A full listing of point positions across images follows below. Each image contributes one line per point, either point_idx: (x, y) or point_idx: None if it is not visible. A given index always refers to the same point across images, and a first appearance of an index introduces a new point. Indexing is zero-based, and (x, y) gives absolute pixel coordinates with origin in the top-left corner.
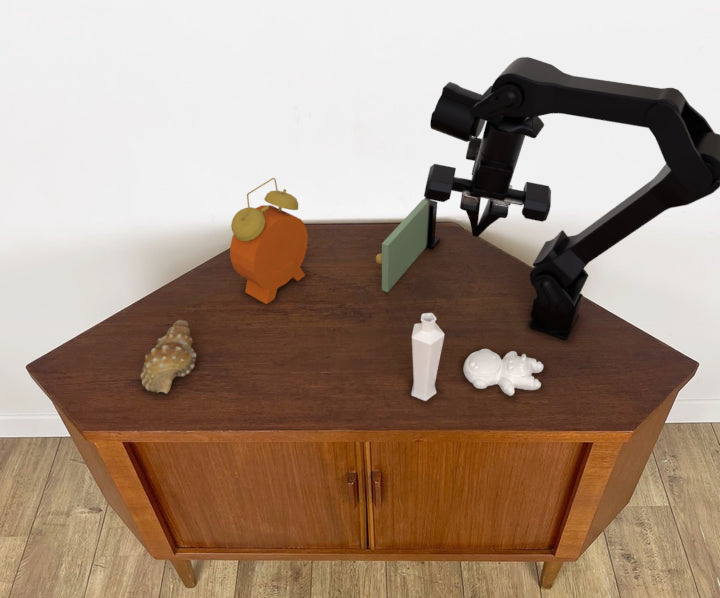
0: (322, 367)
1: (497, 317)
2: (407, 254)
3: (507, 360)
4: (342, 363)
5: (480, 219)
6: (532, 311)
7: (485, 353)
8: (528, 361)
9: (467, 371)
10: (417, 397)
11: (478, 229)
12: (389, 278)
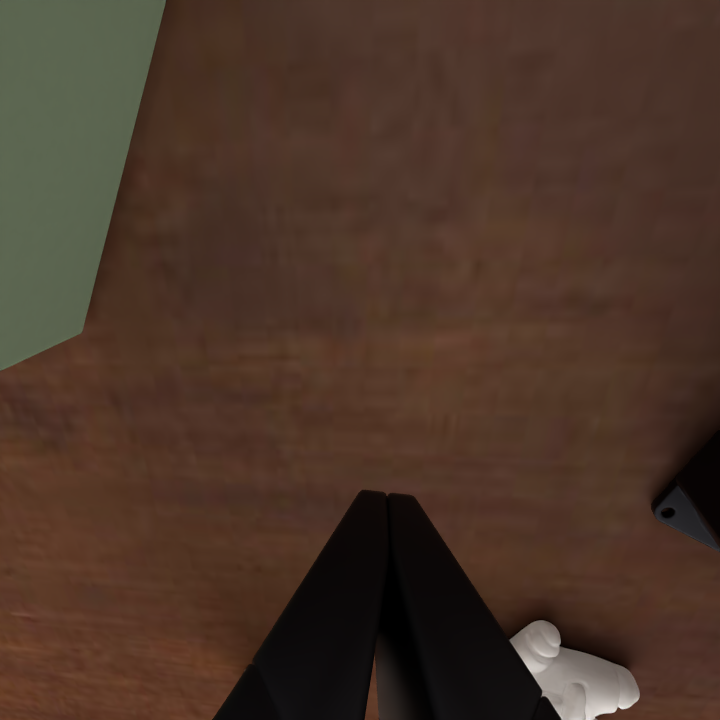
0: (10, 600)
1: (529, 445)
2: (57, 169)
3: None
4: (52, 593)
5: (406, 653)
6: (691, 503)
7: None
8: (587, 714)
9: None
10: None
11: (380, 708)
12: (36, 343)
